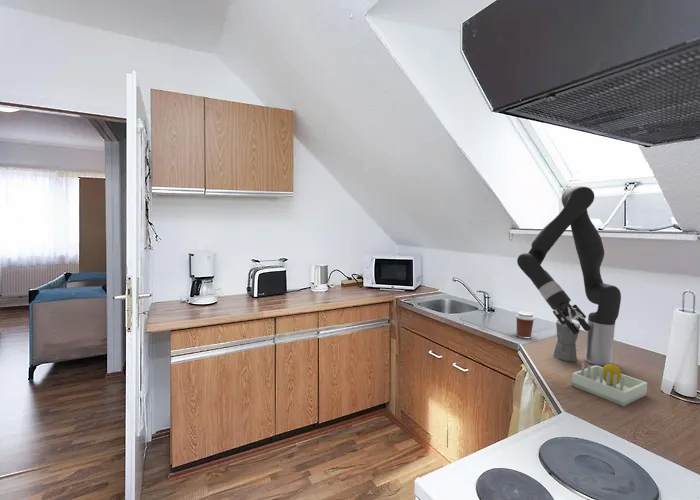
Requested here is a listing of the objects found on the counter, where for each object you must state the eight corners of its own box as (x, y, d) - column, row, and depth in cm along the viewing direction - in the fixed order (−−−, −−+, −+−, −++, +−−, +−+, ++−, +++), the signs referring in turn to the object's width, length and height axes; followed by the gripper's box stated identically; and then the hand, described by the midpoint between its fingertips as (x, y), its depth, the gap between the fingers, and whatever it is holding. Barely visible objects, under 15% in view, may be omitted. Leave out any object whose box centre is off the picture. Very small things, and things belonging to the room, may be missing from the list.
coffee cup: (537, 338, 177) (539, 315, 176) (522, 339, 175) (524, 315, 174) (525, 333, 186) (526, 310, 184) (509, 333, 183) (511, 311, 182)
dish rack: (594, 376, 134) (596, 355, 134) (646, 395, 121) (648, 372, 120) (571, 385, 126) (573, 363, 126) (623, 406, 113) (626, 381, 112)
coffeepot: (584, 364, 146) (588, 321, 144) (559, 362, 147) (563, 320, 146) (567, 350, 161) (570, 312, 159) (545, 349, 162) (548, 310, 161)
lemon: (611, 389, 121) (613, 367, 120) (596, 382, 127) (598, 360, 126) (624, 388, 122) (626, 366, 122) (609, 381, 128) (611, 360, 127)
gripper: (551, 291, 134) (582, 329, 125) (571, 288, 141) (600, 324, 133) (536, 302, 139) (565, 339, 130) (556, 298, 146) (584, 333, 137)
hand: (583, 331), depth 131 cm, fingers open, 8 cm apart
